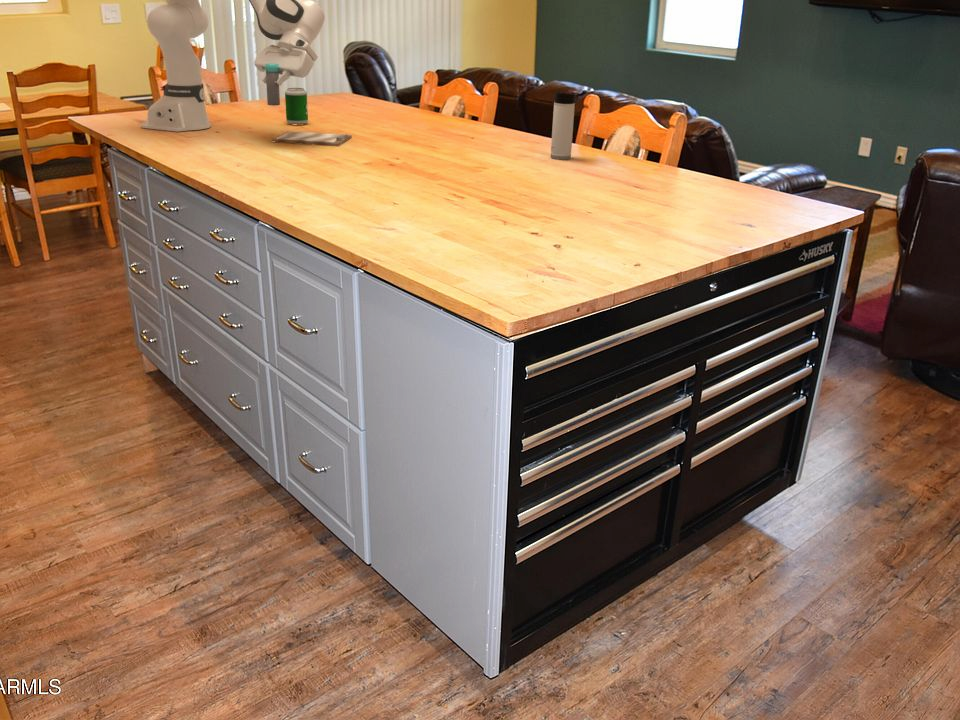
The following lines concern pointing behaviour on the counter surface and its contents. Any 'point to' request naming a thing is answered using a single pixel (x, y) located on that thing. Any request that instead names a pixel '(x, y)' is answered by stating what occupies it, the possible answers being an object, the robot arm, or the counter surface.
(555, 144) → the travel mug
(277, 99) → the marker
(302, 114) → the soda can
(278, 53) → the robot arm
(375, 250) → the counter surface
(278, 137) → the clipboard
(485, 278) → the counter surface
